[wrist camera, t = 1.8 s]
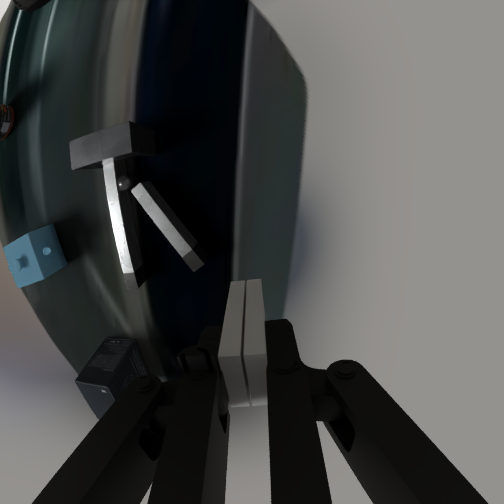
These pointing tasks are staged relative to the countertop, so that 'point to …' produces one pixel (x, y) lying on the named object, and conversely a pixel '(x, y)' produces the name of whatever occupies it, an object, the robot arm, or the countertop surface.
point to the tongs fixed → (124, 222)
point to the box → (110, 373)
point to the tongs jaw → (170, 225)
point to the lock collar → (112, 145)
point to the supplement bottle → (6, 120)
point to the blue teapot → (35, 256)
